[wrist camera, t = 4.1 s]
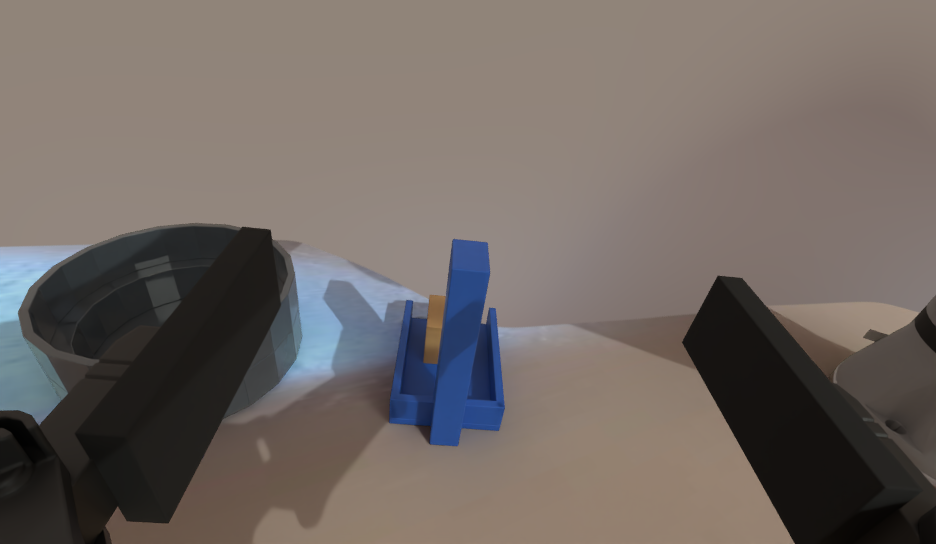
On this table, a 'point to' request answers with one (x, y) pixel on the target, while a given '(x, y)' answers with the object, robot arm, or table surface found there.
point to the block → (434, 328)
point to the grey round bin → (144, 303)
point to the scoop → (452, 357)
